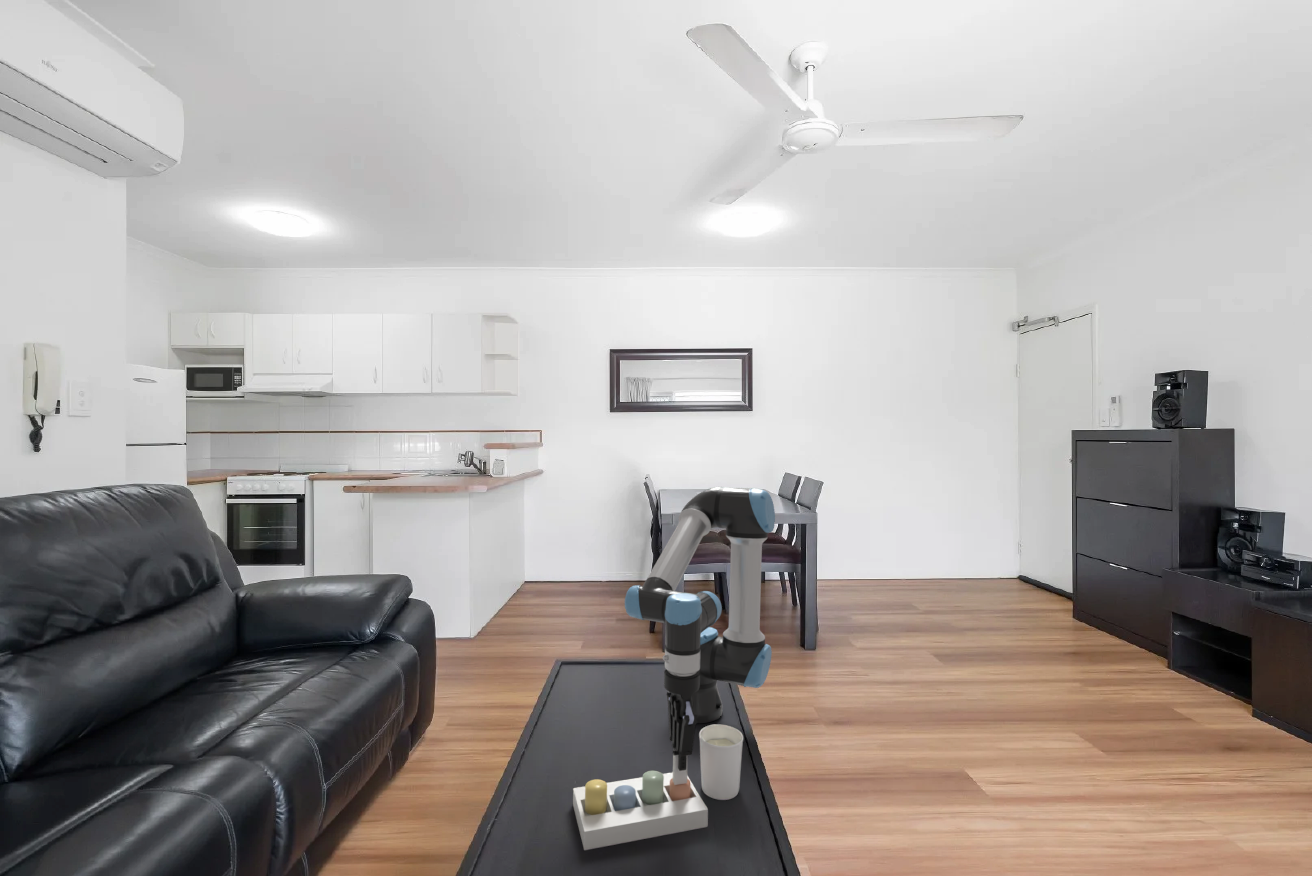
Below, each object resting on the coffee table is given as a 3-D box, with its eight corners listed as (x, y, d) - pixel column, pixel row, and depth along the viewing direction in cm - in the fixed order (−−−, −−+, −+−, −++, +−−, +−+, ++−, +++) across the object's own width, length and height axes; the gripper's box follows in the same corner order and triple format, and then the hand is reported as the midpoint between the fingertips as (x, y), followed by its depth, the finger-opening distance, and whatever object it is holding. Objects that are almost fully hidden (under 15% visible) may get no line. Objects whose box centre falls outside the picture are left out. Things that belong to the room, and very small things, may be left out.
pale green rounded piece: (659, 790, 121) (660, 769, 121) (666, 803, 117) (666, 781, 117) (639, 793, 120) (640, 772, 120) (645, 806, 116) (645, 784, 116)
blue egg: (632, 805, 119) (632, 783, 120) (637, 818, 115) (638, 796, 115) (611, 808, 118) (612, 786, 118) (616, 822, 114) (616, 799, 114)
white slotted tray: (684, 786, 128) (684, 770, 128) (707, 826, 115) (707, 809, 115) (572, 804, 121) (573, 788, 121) (584, 850, 107) (584, 831, 107)
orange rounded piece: (685, 795, 123) (686, 774, 123) (693, 808, 119) (693, 786, 119) (666, 799, 122) (666, 778, 122) (673, 812, 117) (673, 790, 118)
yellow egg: (604, 799, 118) (604, 777, 118) (608, 813, 114) (609, 790, 114) (583, 803, 116) (583, 781, 117) (586, 816, 112) (587, 793, 112)
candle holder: (731, 808, 120) (732, 751, 121) (690, 792, 126) (691, 737, 126) (749, 785, 129) (750, 731, 129) (710, 771, 134) (711, 720, 134)
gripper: (656, 659, 126) (653, 767, 125) (675, 683, 113) (672, 803, 113) (688, 656, 128) (685, 762, 127) (710, 680, 115) (707, 797, 115)
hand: (679, 781), depth 120 cm, fingers closed
